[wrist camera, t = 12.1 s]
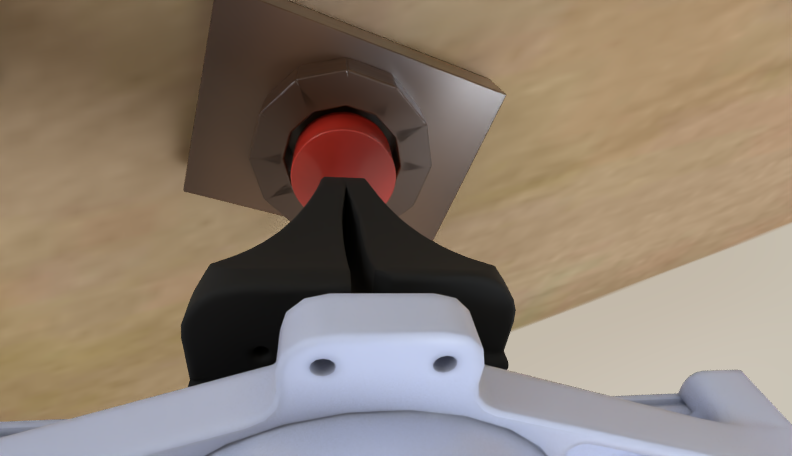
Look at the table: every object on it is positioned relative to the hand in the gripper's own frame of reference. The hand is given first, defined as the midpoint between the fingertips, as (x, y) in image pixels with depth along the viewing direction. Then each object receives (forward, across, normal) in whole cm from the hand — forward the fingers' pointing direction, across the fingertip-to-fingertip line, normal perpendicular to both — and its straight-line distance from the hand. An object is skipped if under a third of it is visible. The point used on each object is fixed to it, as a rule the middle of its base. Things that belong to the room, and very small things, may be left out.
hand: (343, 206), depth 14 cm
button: (+4, 0, 0) cm, 4 cm away
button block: (+7, 0, 0) cm, 7 cm away
